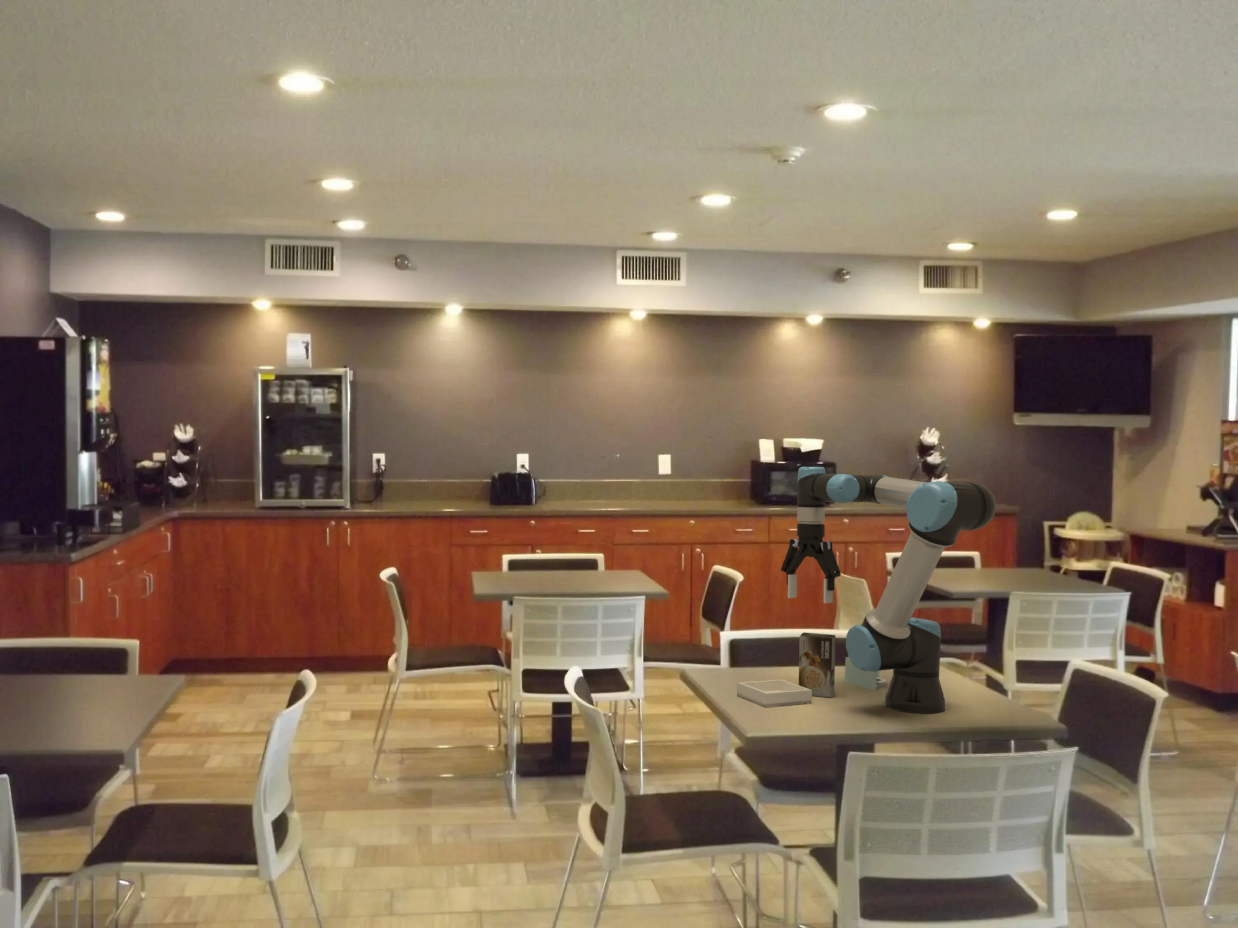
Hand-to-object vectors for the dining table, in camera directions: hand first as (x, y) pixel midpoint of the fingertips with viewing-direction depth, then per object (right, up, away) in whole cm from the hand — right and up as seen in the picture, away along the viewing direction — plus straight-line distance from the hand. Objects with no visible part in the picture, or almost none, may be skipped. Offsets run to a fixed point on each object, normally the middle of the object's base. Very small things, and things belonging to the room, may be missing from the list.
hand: (809, 600), depth 311 cm
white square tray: (-12, -25, -13) cm, 30 cm away
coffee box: (+1, -25, -5) cm, 25 cm away
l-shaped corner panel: (+20, -26, +11) cm, 34 cm away
